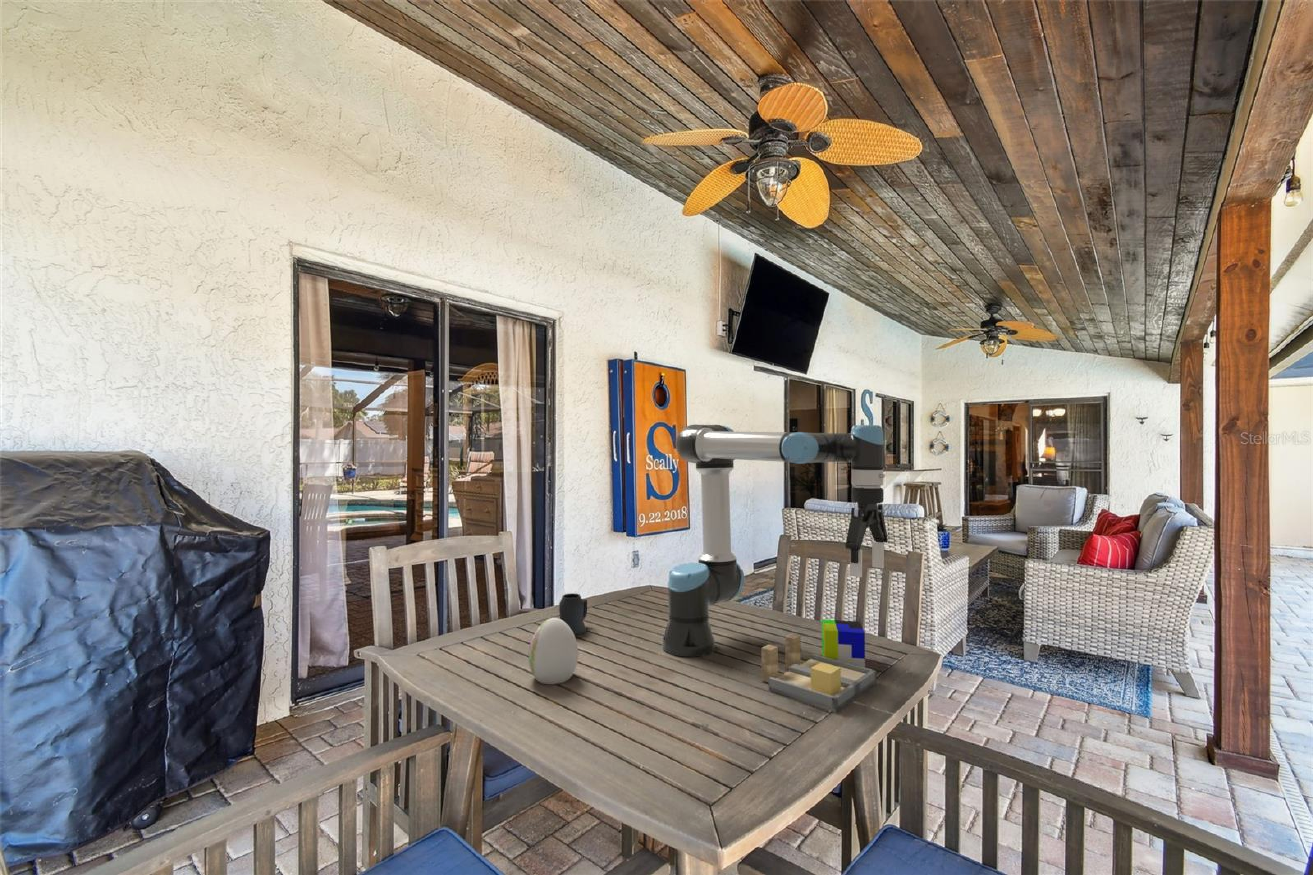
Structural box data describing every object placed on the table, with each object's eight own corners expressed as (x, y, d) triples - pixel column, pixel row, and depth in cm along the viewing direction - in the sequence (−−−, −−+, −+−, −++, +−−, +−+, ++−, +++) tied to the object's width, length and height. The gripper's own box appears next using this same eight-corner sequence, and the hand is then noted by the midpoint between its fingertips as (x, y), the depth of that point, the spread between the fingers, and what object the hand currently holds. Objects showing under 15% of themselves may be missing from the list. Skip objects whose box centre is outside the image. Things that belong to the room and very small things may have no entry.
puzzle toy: (864, 671, 153) (864, 633, 153) (824, 668, 155) (824, 630, 155) (859, 657, 163) (859, 621, 163) (822, 655, 165) (821, 619, 165)
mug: (574, 637, 179) (574, 600, 179) (550, 633, 183) (550, 597, 184) (596, 627, 190) (596, 592, 190) (573, 623, 194) (573, 588, 194)
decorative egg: (548, 665, 157) (548, 609, 157) (587, 673, 151) (587, 615, 151) (518, 682, 146) (518, 621, 146) (559, 691, 140) (559, 628, 140)
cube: (810, 689, 136) (810, 668, 136) (820, 683, 140) (820, 662, 140) (830, 696, 133) (830, 673, 133) (840, 689, 137) (840, 667, 137)
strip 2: (756, 682, 145) (756, 650, 145) (773, 673, 150) (773, 642, 150) (830, 706, 132) (830, 670, 132) (845, 695, 137) (845, 661, 137)
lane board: (768, 690, 141) (768, 678, 141) (813, 665, 157) (813, 653, 157) (835, 712, 129) (835, 698, 129) (876, 682, 145) (876, 670, 145)
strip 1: (781, 669, 153) (781, 638, 153) (796, 661, 159) (796, 631, 159) (817, 680, 146) (817, 648, 146) (832, 671, 152) (831, 640, 152)
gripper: (861, 490, 136) (861, 583, 135) (900, 484, 154) (900, 566, 154) (830, 488, 141) (830, 577, 140) (872, 483, 159) (872, 562, 159)
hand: (867, 571), depth 147 cm, fingers open, 13 cm apart
